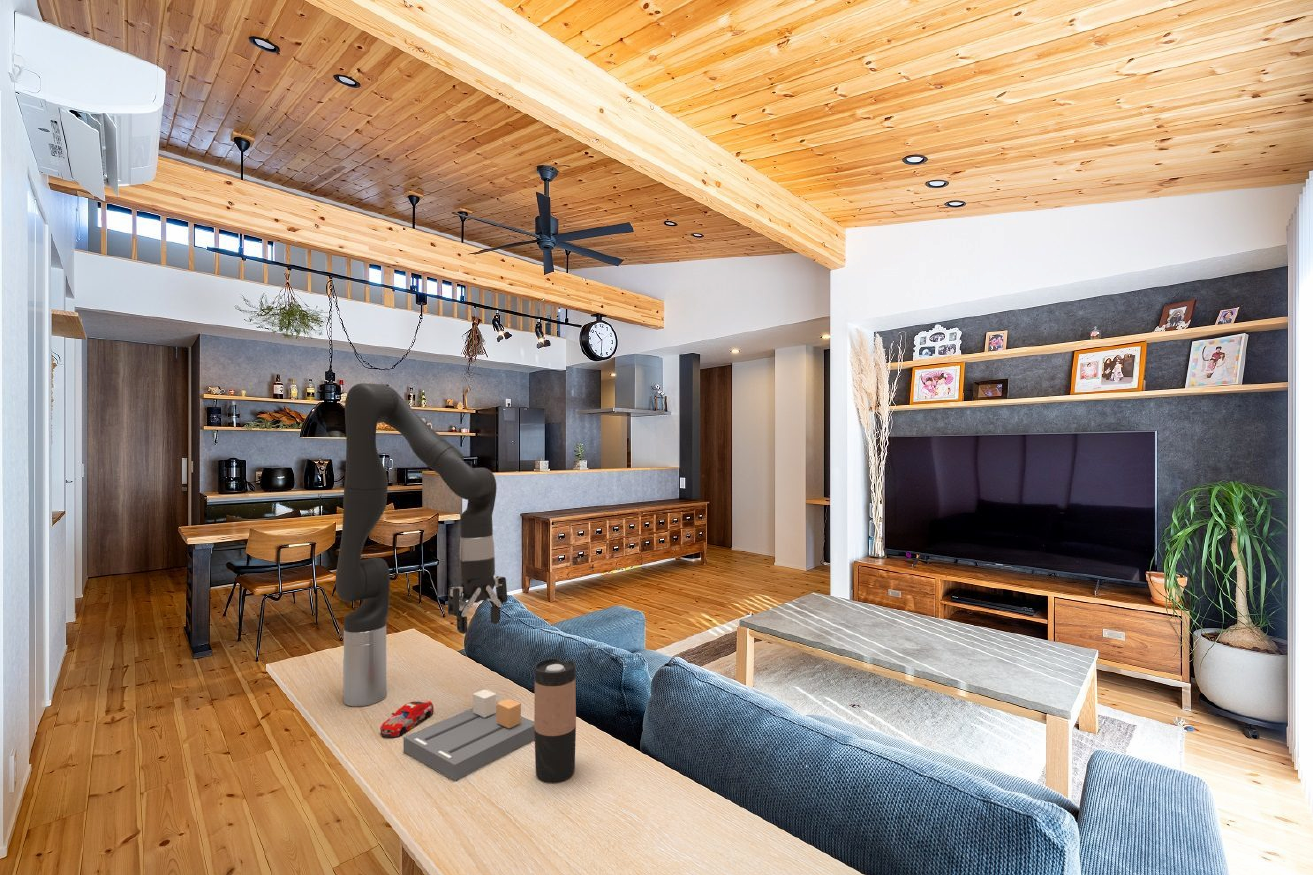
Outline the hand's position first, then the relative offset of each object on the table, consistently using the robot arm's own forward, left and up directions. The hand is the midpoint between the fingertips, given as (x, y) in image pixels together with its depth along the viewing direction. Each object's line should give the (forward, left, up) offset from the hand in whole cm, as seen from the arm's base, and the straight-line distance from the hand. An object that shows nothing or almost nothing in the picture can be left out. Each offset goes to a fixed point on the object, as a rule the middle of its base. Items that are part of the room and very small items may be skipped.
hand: (479, 628), depth 136 cm
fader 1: (+6, -3, -16) cm, 18 cm away
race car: (-9, -12, -20) cm, 25 cm away
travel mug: (+31, -6, -20) cm, 37 cm away
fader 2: (+14, -3, -16) cm, 22 cm away
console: (+10, -9, -19) cm, 24 cm away
